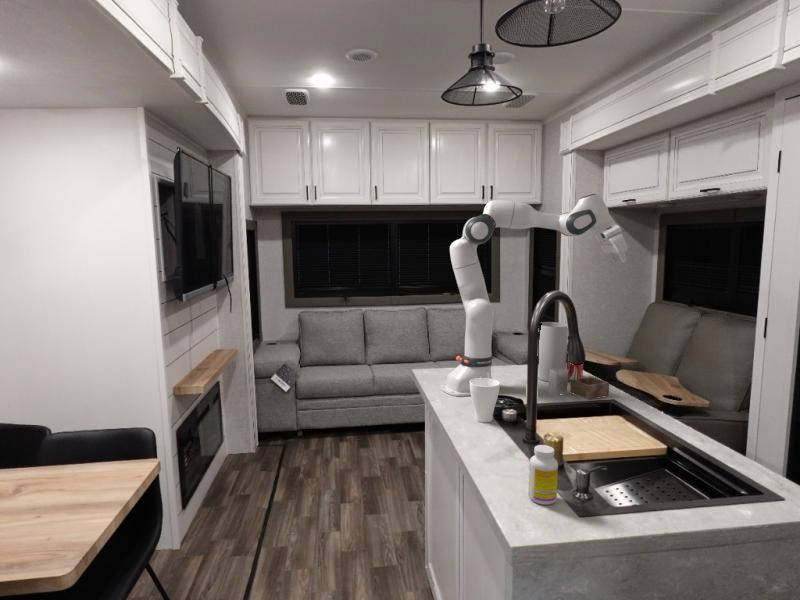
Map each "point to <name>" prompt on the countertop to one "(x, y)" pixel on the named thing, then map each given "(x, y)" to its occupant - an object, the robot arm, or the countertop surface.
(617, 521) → the countertop surface
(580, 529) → the countertop surface
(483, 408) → the cup
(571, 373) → the soda can
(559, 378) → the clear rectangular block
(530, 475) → the supplement bottle
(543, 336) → the cylinder vase
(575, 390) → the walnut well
